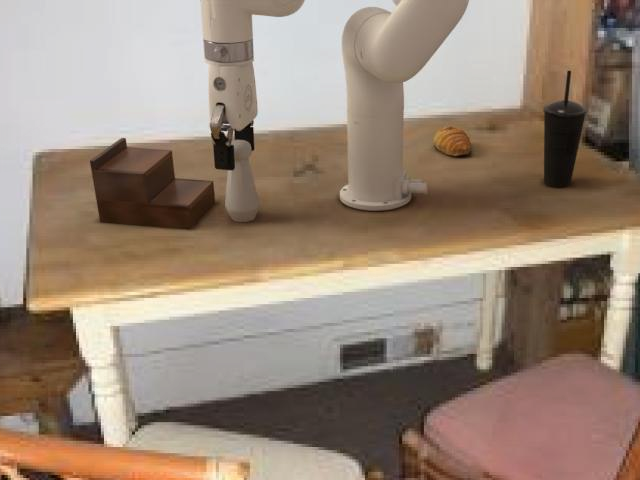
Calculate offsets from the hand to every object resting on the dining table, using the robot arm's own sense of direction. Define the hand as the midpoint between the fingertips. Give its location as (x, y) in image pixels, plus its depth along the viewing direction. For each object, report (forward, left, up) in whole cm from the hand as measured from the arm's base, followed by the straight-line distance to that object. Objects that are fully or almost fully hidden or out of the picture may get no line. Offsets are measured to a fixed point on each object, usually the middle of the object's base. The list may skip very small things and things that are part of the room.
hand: (235, 159), depth 151 cm
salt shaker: (-1, 0, -10) cm, 10 cm away
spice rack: (+14, 0, -10) cm, 18 cm away
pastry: (-31, -42, -10) cm, 53 cm away
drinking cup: (-52, -27, -10) cm, 59 cm away
